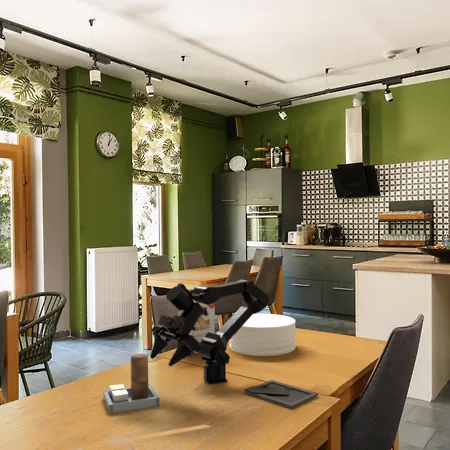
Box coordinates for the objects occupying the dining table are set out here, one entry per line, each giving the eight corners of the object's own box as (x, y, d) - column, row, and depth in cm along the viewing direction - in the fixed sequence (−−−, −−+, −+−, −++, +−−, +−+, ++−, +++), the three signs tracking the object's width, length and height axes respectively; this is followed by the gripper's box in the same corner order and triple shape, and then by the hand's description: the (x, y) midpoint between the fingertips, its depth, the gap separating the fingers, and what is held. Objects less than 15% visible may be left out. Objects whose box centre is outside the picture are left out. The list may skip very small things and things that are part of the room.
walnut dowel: (149, 397, 141) (148, 353, 140) (147, 403, 136) (146, 358, 136) (132, 397, 140) (132, 353, 140) (129, 403, 135) (129, 358, 135)
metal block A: (123, 397, 141) (123, 383, 141) (125, 401, 137) (125, 388, 137) (109, 399, 139) (109, 385, 139) (111, 403, 135) (111, 390, 135)
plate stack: (216, 349, 196) (216, 322, 196) (251, 336, 220) (251, 311, 219) (275, 360, 181) (275, 330, 181) (306, 344, 204) (306, 317, 204)
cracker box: (183, 356, 186) (183, 303, 186) (178, 353, 191) (177, 301, 191) (215, 352, 192) (215, 300, 192) (209, 348, 198) (208, 298, 198)
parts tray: (150, 394, 145) (150, 384, 145) (159, 408, 134) (159, 397, 134) (103, 400, 140) (103, 390, 140) (109, 416, 129) (109, 405, 129)
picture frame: (244, 395, 145) (291, 411, 132) (244, 389, 145) (291, 404, 132) (271, 384, 155) (318, 398, 142) (271, 378, 155) (318, 391, 142)
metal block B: (126, 403, 136) (125, 389, 136) (128, 408, 132) (128, 393, 132) (111, 405, 135) (111, 391, 135) (114, 410, 131) (113, 395, 131)
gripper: (155, 299, 152) (126, 340, 145) (193, 309, 139) (163, 355, 132) (175, 319, 158) (148, 359, 151) (212, 330, 145) (185, 375, 138)
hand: (160, 361), depth 143 cm, fingers open, 9 cm apart
